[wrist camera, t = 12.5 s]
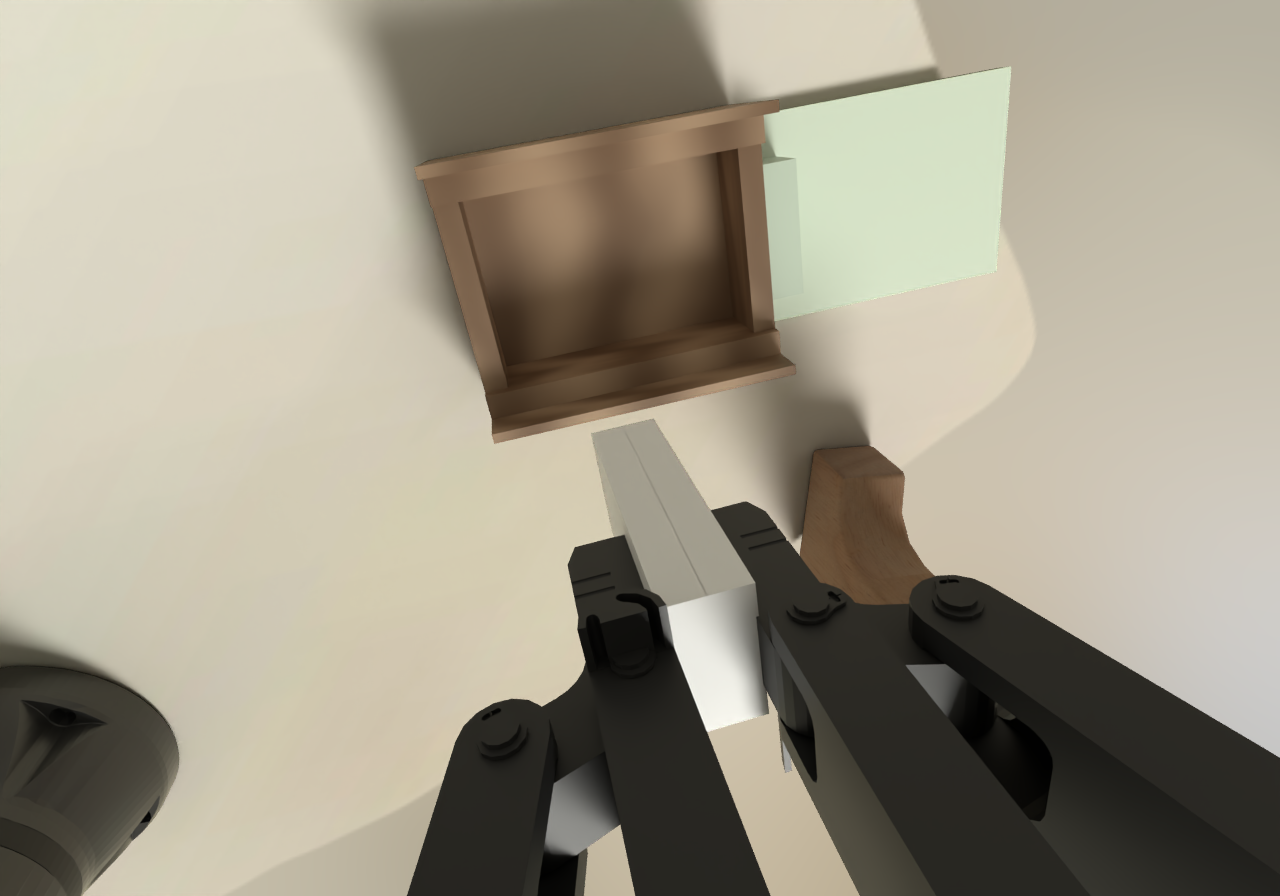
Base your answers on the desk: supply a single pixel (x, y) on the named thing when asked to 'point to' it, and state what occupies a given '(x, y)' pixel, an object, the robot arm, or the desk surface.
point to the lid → (885, 191)
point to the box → (612, 266)
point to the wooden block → (859, 527)
